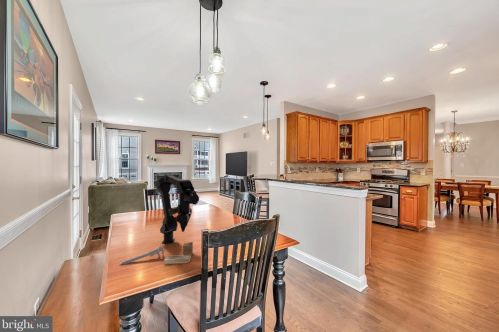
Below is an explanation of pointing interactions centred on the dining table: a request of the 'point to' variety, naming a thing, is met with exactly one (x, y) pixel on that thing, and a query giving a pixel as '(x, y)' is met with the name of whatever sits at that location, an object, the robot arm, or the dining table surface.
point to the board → (177, 259)
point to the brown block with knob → (188, 248)
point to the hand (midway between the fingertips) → (184, 229)
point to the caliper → (145, 255)
